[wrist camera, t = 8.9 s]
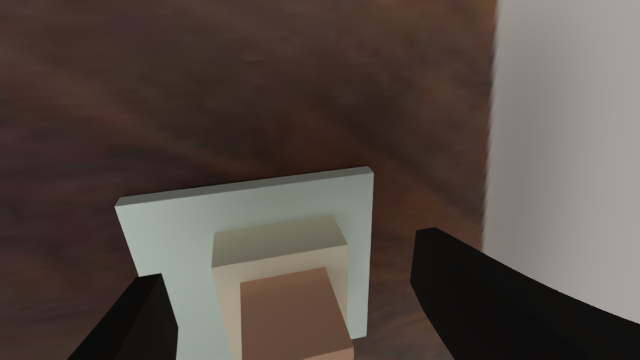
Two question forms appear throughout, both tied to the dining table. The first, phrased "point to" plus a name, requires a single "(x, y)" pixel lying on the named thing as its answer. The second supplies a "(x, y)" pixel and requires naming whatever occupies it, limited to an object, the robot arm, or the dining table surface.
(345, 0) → the dining table surface
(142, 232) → the base plate
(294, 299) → the top brick
